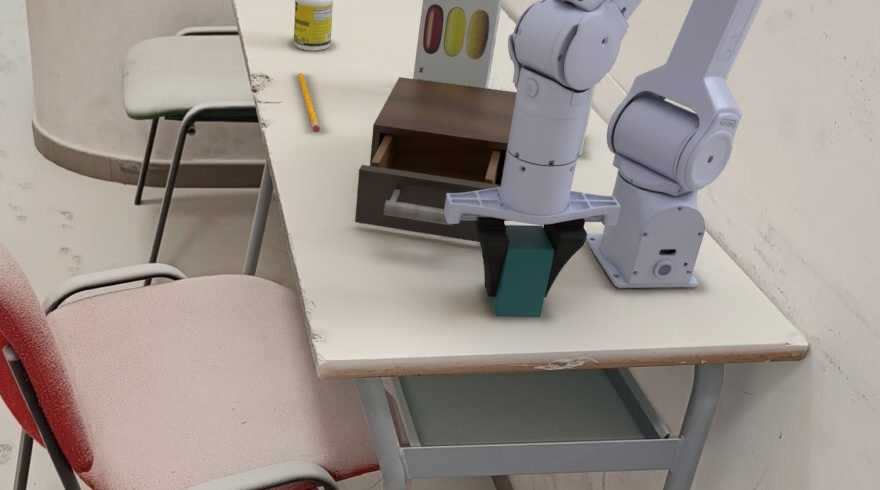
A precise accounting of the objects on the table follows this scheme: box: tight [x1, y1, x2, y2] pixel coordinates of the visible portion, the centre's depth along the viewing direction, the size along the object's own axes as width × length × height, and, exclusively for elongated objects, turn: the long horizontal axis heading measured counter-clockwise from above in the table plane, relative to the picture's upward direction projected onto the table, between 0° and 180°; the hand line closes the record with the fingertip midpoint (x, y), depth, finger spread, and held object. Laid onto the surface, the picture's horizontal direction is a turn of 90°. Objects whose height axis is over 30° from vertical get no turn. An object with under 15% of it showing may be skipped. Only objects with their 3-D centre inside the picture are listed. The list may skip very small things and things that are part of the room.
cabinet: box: [369, 76, 517, 187], centre depth 111 cm, size 15×15×8 cm
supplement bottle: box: [293, 0, 334, 52], centre depth 144 cm, size 5×5×10 cm
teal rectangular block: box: [488, 224, 554, 318], centre depth 89 cm, size 4×4×7 cm
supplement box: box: [412, 0, 503, 89], centre depth 126 cm, size 10×9×17 cm
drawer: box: [354, 133, 502, 243], centre depth 102 cm, size 18×13×6 cm
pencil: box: [297, 72, 321, 133], centre depth 129 cm, size 1×18×1 cm, turn 5°
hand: (515, 291), depth 91 cm, fingers closed on teal rectangular block, 4 cm apart
